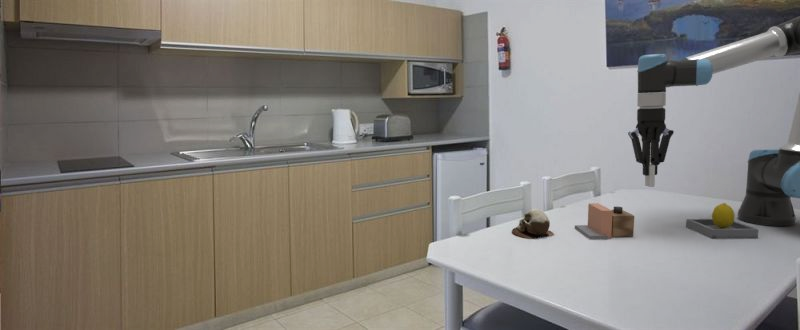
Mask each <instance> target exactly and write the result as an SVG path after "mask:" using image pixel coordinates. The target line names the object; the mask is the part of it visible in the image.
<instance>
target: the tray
mask: <svg viewBox="0 0 800 330" xmlns="http://www.w3.org/2000/svg"><path fill="white" fill-rule="evenodd" d="M685 221H686V222H685V227H686V228H687V229H690V230H691V231H694V232H697V233H699V234H700V235H703V236H705V237H706V238H707V237H708V238H710V239H713V240H715V239H716V240H717V239H758V238H759V229H758V228H755V227H753V226H751V225H747V224H746V223H745V224H744V223H741V222H739V221H736V220H734V222H733V224H732V225H731V226H730V227H727V228H725V229H720V228H719V227H718V226H716V225H715V224H714V222H713V220H712V218H686V219H685Z"/></svg>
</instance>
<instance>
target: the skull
mask: <svg viewBox="0 0 800 330" xmlns="http://www.w3.org/2000/svg"><path fill="white" fill-rule="evenodd" d="M550 224H551V223H550V219H549V217H548V216H547V214H546V213H545V212H544V211H542V210H541V209H539V208H532V209H531V208H530V209H529V210H527V211H526V212H525V213H524V216H522V218H520V220H519V224H517V226H516V227H514V228H512V230H511V231H512V234H514V235H516V236H518V237H522V238H524V239H530V240H539V239H541V238H544V237H545V238H547V237H553V236H555V233H554V232H553V231H551V230H550Z"/></svg>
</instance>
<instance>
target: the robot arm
mask: <svg viewBox="0 0 800 330" xmlns="http://www.w3.org/2000/svg"><path fill="white" fill-rule="evenodd" d="M794 54H800V15H799V16H796V17H795V18H792V19H789V20H788V21H787V20H786V21H785V22H782V23H779V24H777V25H774V26H771V27H769V28H768V29H767V31H765V32H762V33H759V34H756V35H753V36H750V37H747V38H744V39H740V40H737V41H734V42H731V43H728V44H724V45H721V46H717V47H714V48H712V49H709V50H708V49H707V50H706V51H702V52H698V53H696V54H692V55H689V56H686V57H683V58H681V59H677V60H676V59H675V60H668V58H667V55H666V54H665V53H656V54H655V53H653V54H645V55H641V56H640V57H639V58H638V63H637V64H638V65H637V71H636V72H637V102H636V103H637V107H638V109H636V110H637V111H636V120H637V124H636V126H635V129H632V131H629V132H627V134H628V136H629V138H630V139H631V144H632V147H633V148H632V149H633V153H634V157H635V158H634V159H635V161H636V163H639V164H641V165H642V175H643V176H644V179H645V181H644V186H646V187H649V188H652V187H653V188H654V187H655V185H656V184H655V183H656V176H657V175H658V166H659V165H661V163H664V162H665V160H666V156H667V152H668V149H669V145H670V141H671V138H672V136H673V135H674V134H675V132H674V130H673V129H672V130H671V129H669V128H668V127H667V125H666V123H665V121H666V108H665V106H666V105H667V103H666V102H667V101H666V100H667V98H666V96H667V95H666V94H667V93H666V92H667V88H671V87H672V88H673V87H690V86H696V87H698V86H706V85H708V84H709V83H710V82H711V80H712V78H713V75H714V74H717V73H721V72H724V71H728V70H731V69H734V68H738V67H741V66H744V65H747V64H750V63H754V62H757V61H761V60H763V59H767V58H770V57H773V56H774V57H776V58H781V57H782V58H783V57H784V56H788V55H789V56H790V55H794ZM639 136H640V137H641V140H640V137H639ZM641 143H642V145H641ZM747 164H748V165H747V174H746V175H747V177H746V185H745V186H746V187H745V188H746V189H745V196H744V198H743V200H742V202H741V205H740V207H739V208H738V211H737V215H736V216H737V219H738V220H740V221H742V222H745V223H746V222H747V223H750V224H754V225H755V224H756V225H762V226H769V227H770V226H773V227H790V226H795V225H796V222H797V221H796V219H797V217H796V214H795V210H794V207H793V204H792V200H791V198H794V199H795V198H796V199H800V92H799V94H798V98H797V102H796V106H795V111H794V115H793V119H792V123H791V127H790V131H789V135H788V139H787V142H786V144H784V145H782V146H781V147H779V149H778V148H777V149H753V150H751V151H750V152H749V154H748V159H747Z"/></svg>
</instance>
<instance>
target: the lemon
mask: <svg viewBox="0 0 800 330" xmlns="http://www.w3.org/2000/svg"><path fill="white" fill-rule="evenodd" d="M711 219H712V220H713V222H714V224H715V225H716V226H718V227H719V228H720V229H725V228H727V227H730V226H731V225H732V224H733V222H734V221H735V212H734V209H733V208H732V207H731V206H730V205H728V204H727V203H726V202H722V203H720V204H718V205H717V206H715V207H714V208H713V210H712V213H711Z"/></svg>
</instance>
